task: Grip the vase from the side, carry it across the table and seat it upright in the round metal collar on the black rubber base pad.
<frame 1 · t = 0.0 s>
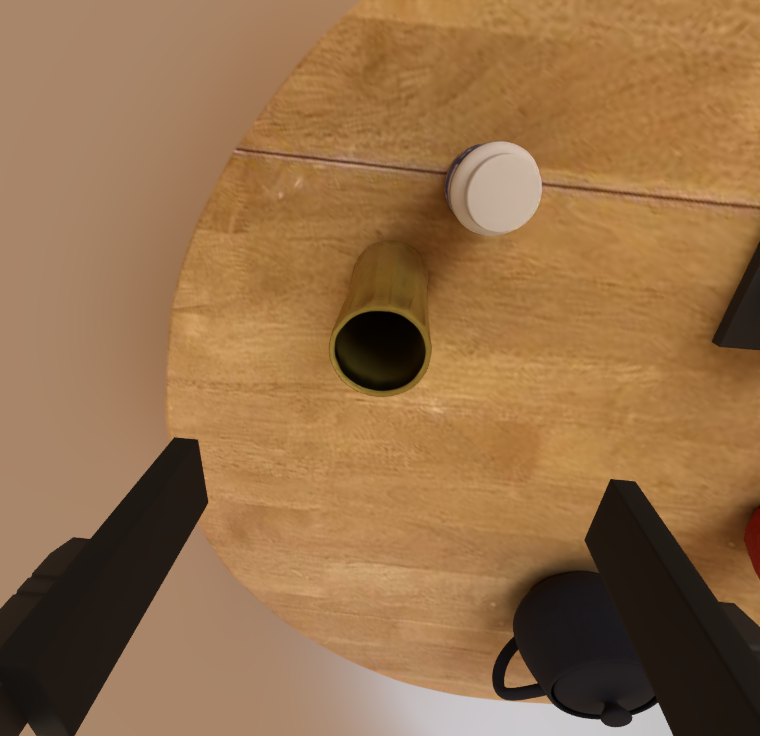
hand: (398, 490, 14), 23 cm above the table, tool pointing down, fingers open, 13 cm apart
vase: (390, 278, 34), on the table
pill bottle: (479, 184, 30), on the table
teapot: (579, 596, 50), on the table
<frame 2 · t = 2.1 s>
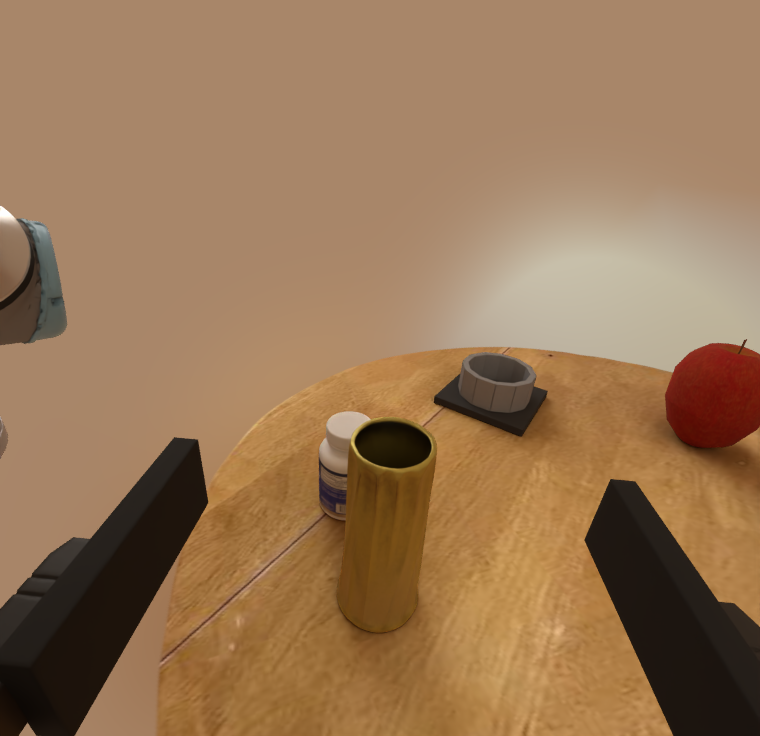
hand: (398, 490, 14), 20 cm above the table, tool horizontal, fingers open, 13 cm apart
socket pad: (491, 399, 58), on the table
vase: (377, 594, 31), on the table
pill bottle: (346, 502, 39), on the table
apple: (693, 440, 53), on the table
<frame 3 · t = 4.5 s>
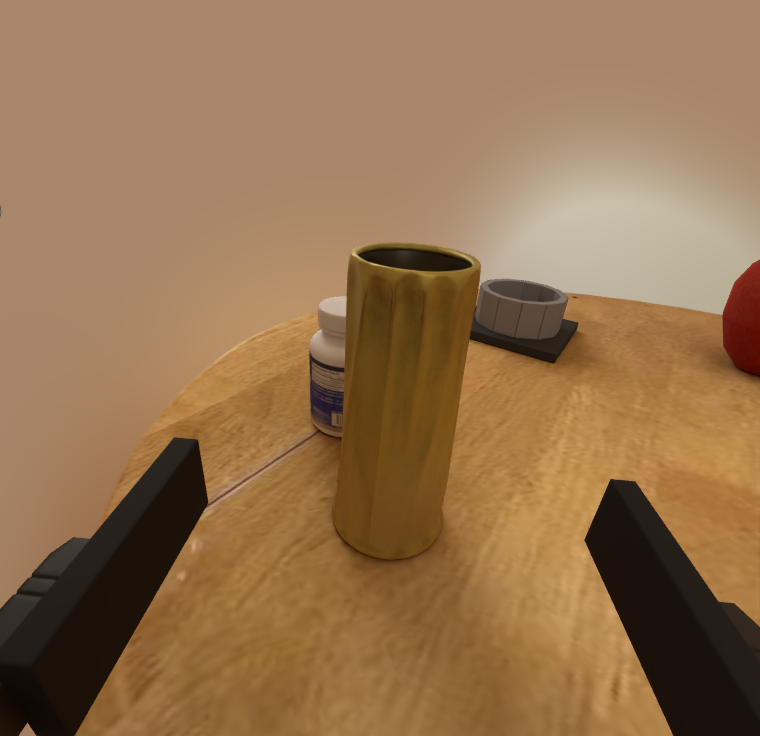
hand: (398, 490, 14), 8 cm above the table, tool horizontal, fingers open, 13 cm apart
socket pad: (514, 331, 49), on the table
vase: (387, 516, 23), on the table
pill bottle: (345, 420, 31), on the table
apple: (755, 370, 45), on the table
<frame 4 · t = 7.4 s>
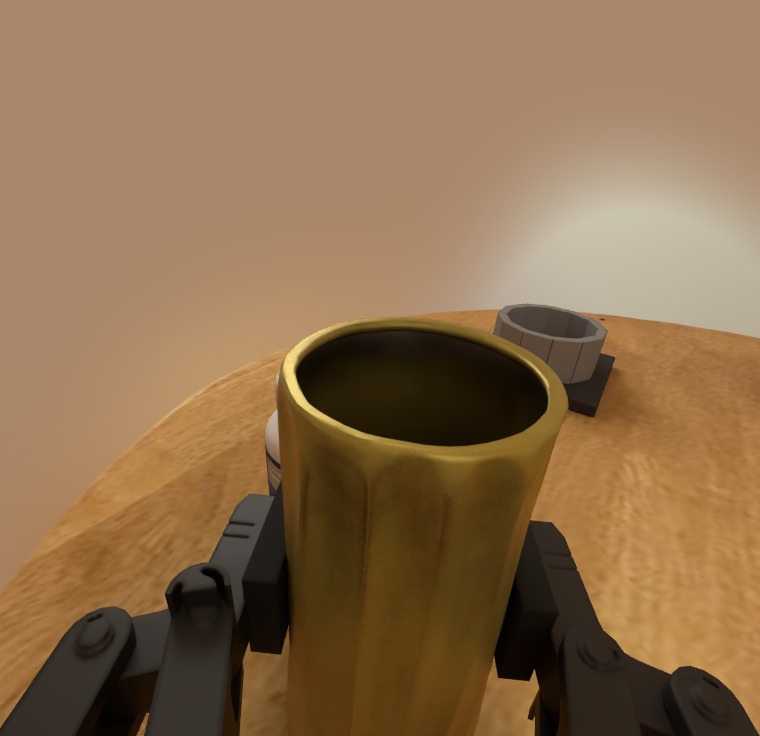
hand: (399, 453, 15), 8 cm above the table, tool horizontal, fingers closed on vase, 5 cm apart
socket pad: (537, 368, 41), on the table
vase: (374, 735, 14), on the table, touching gripper
pill bottle: (322, 523, 22), on the table
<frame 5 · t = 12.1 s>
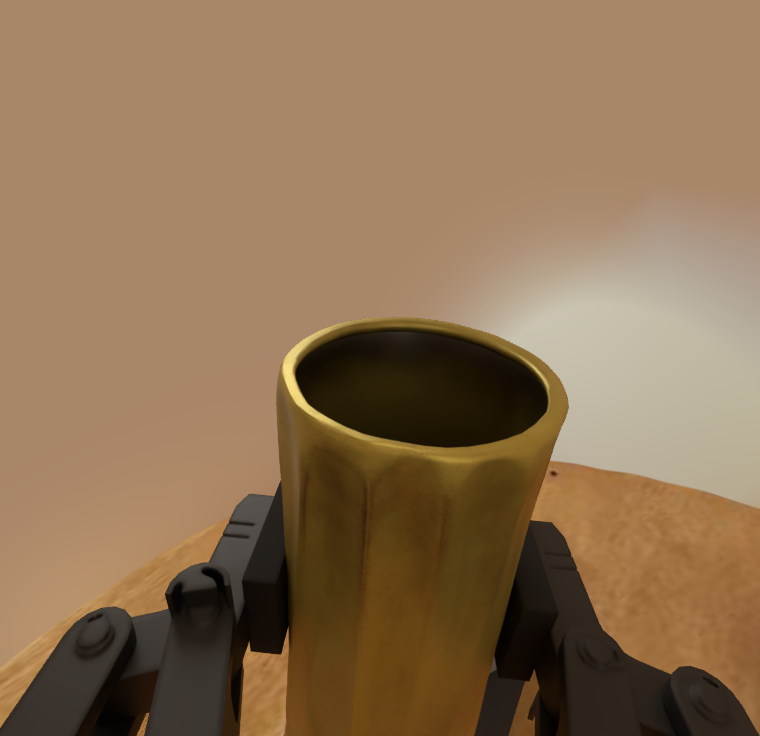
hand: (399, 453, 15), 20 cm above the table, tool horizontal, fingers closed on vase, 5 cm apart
socket pad: (445, 615, 30), on the table
vase: (374, 735, 14), point 12 cm above the table, touching gripper
when the fingers open (9 cm above the table, at t = 17.0 s): vase stays where it is, resting on socket pad.
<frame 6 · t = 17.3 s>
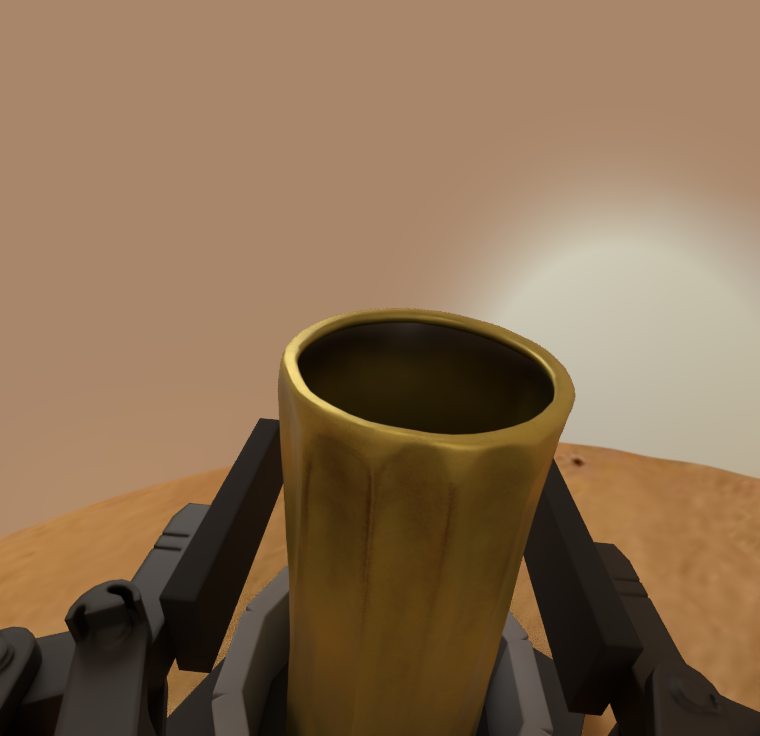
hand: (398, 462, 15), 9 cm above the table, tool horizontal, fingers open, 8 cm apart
vase: (375, 732, 14), point 1 cm above the table, touching socket pad
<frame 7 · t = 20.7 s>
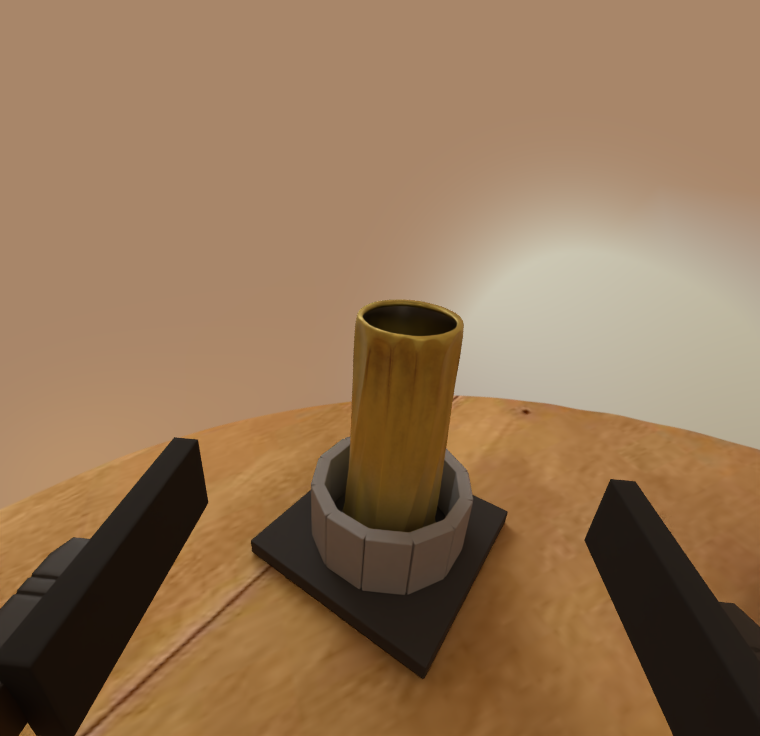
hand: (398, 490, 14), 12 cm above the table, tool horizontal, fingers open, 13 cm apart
socket pad: (386, 535, 27), on the table
vase: (387, 527, 27), point 1 cm above the table, touching socket pad
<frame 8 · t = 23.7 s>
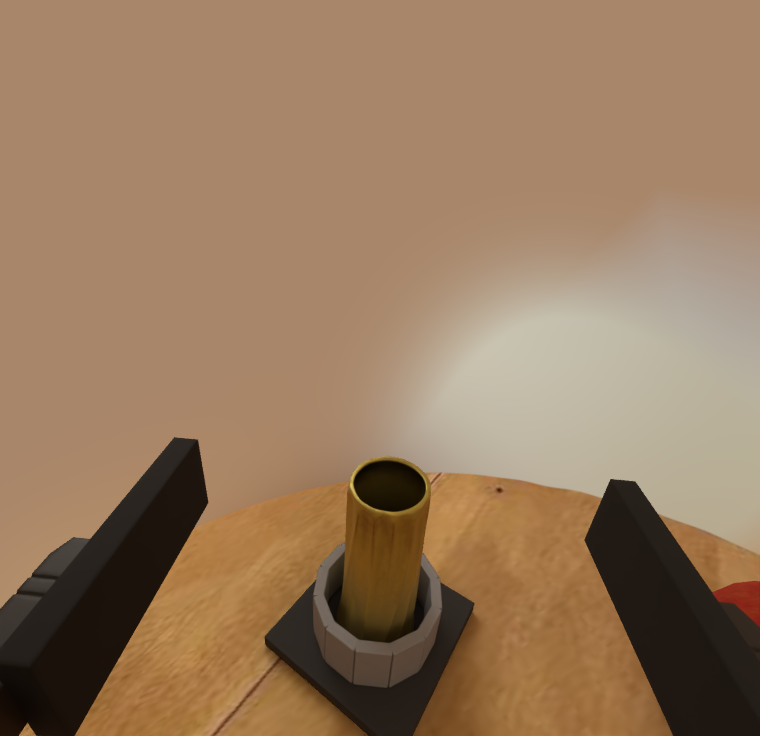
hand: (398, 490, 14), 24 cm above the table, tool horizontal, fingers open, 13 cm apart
socket pad: (374, 626, 33), on the table
vase: (375, 620, 33), point 1 cm above the table, touching socket pad
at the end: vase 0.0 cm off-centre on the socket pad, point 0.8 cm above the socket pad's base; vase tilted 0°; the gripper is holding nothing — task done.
